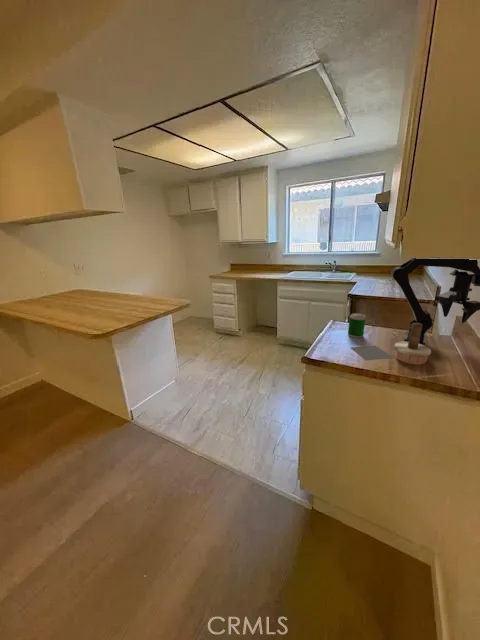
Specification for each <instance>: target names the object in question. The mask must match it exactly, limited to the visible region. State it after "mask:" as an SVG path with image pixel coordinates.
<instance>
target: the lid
mask: <svg viewBox="0 0 480 640" xmlns="http://www.w3.org/2000/svg"><path fill="white" fill-rule="evenodd" d="M421 330H422V324H420V323H412V327H411V332H410V337H409V342H407V341H405V340H404V341H398V342H396V343H394V349H395V351H396V350H397V351H399V352H401V353H403V354H407V355H411V356H417V357H425V356H428V357H429V356H431V354H432V349H431V348H430V347H429V346H427V345H426V344H419V340H420V335H421Z"/></svg>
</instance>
